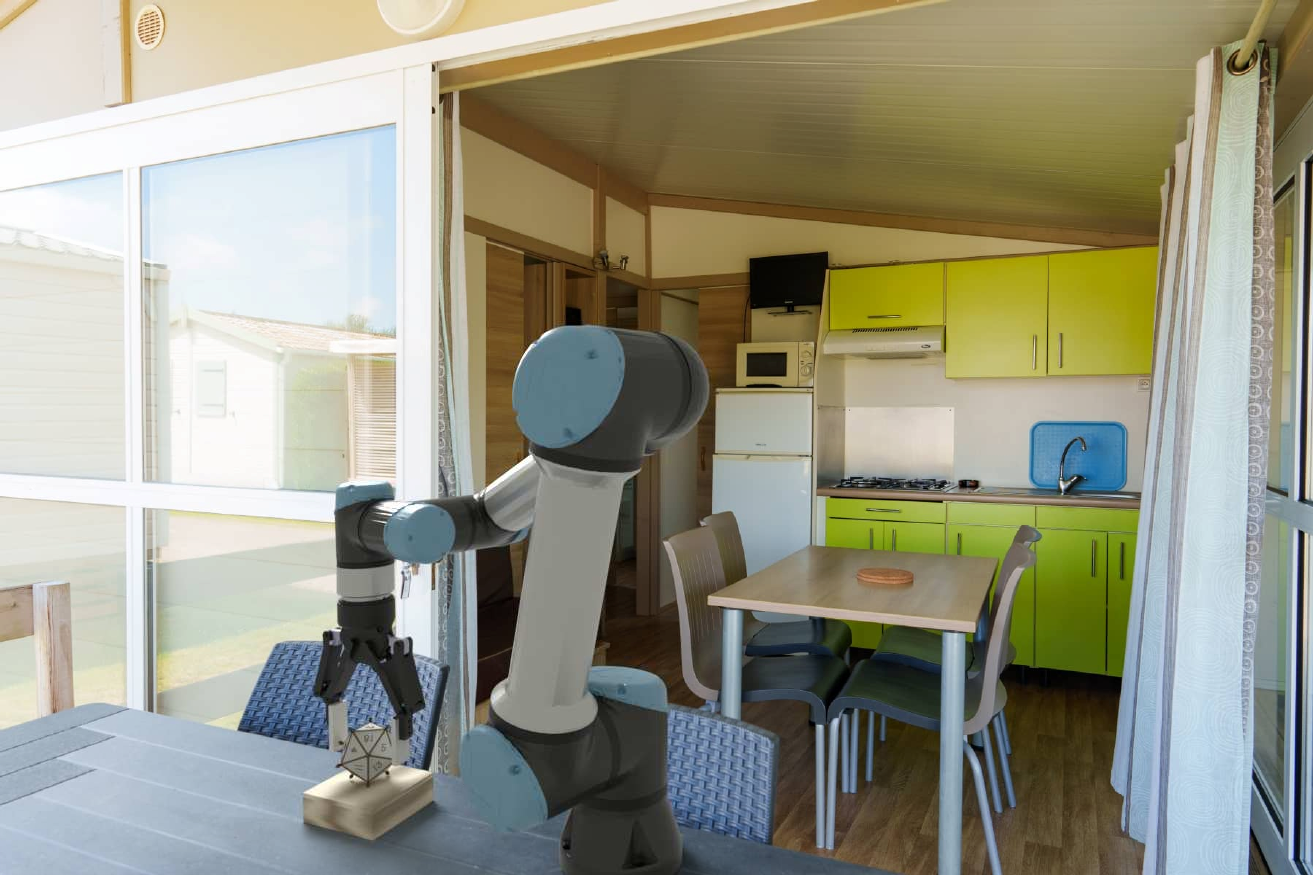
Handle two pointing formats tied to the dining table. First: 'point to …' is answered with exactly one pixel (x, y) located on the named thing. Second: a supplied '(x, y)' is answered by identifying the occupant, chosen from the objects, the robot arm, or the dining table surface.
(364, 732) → the game die
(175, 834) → the dining table surface
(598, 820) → the robot arm
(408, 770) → the birch base
